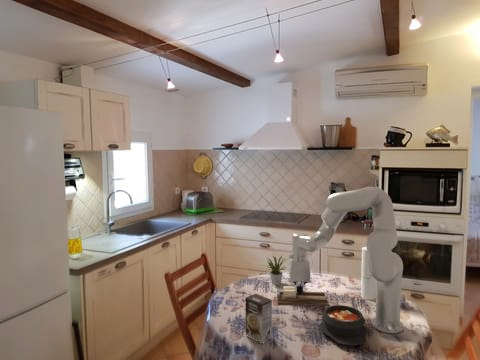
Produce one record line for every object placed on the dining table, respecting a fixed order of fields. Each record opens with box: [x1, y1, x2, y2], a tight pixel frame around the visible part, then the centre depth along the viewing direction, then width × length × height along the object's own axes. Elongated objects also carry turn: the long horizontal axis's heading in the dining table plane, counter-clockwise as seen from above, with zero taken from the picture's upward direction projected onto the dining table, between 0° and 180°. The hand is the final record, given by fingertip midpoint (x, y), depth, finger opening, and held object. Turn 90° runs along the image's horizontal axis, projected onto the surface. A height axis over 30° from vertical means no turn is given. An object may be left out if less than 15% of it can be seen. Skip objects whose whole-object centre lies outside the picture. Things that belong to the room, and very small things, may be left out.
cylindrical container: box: [360, 246, 377, 301], centre depth 175 cm, size 7×7×25 cm
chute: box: [276, 288, 329, 307], centre depth 174 cm, size 12×24×4 cm, turn 85°
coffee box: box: [245, 293, 273, 344], centre depth 140 cm, size 9×6×16 cm
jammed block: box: [282, 285, 297, 298], centre depth 175 cm, size 6×6×4 cm
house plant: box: [266, 254, 288, 286], centre depth 195 cm, size 14×14×16 cm
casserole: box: [319, 304, 368, 346], centre depth 142 cm, size 25×19×8 cm
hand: (299, 293), depth 174 cm, fingers closed
